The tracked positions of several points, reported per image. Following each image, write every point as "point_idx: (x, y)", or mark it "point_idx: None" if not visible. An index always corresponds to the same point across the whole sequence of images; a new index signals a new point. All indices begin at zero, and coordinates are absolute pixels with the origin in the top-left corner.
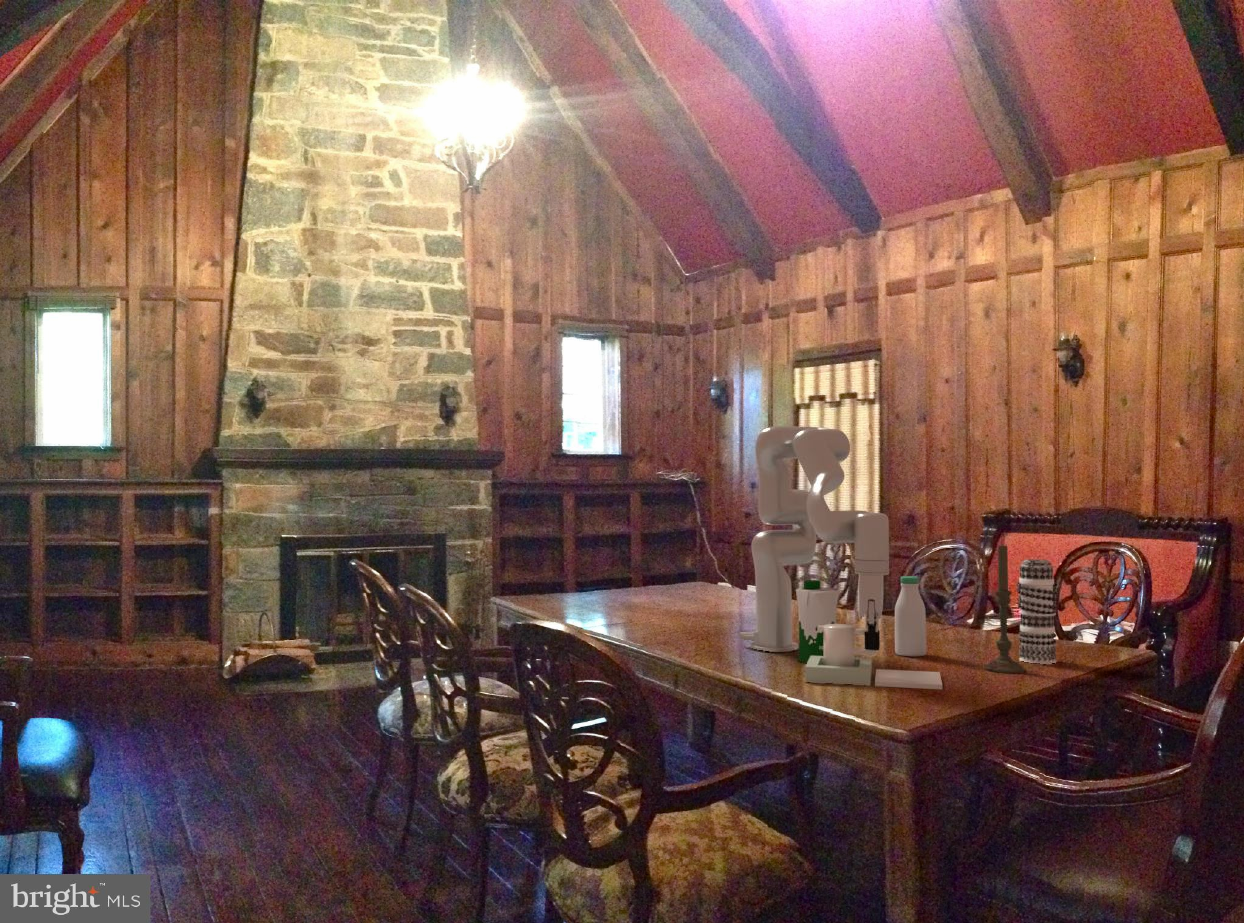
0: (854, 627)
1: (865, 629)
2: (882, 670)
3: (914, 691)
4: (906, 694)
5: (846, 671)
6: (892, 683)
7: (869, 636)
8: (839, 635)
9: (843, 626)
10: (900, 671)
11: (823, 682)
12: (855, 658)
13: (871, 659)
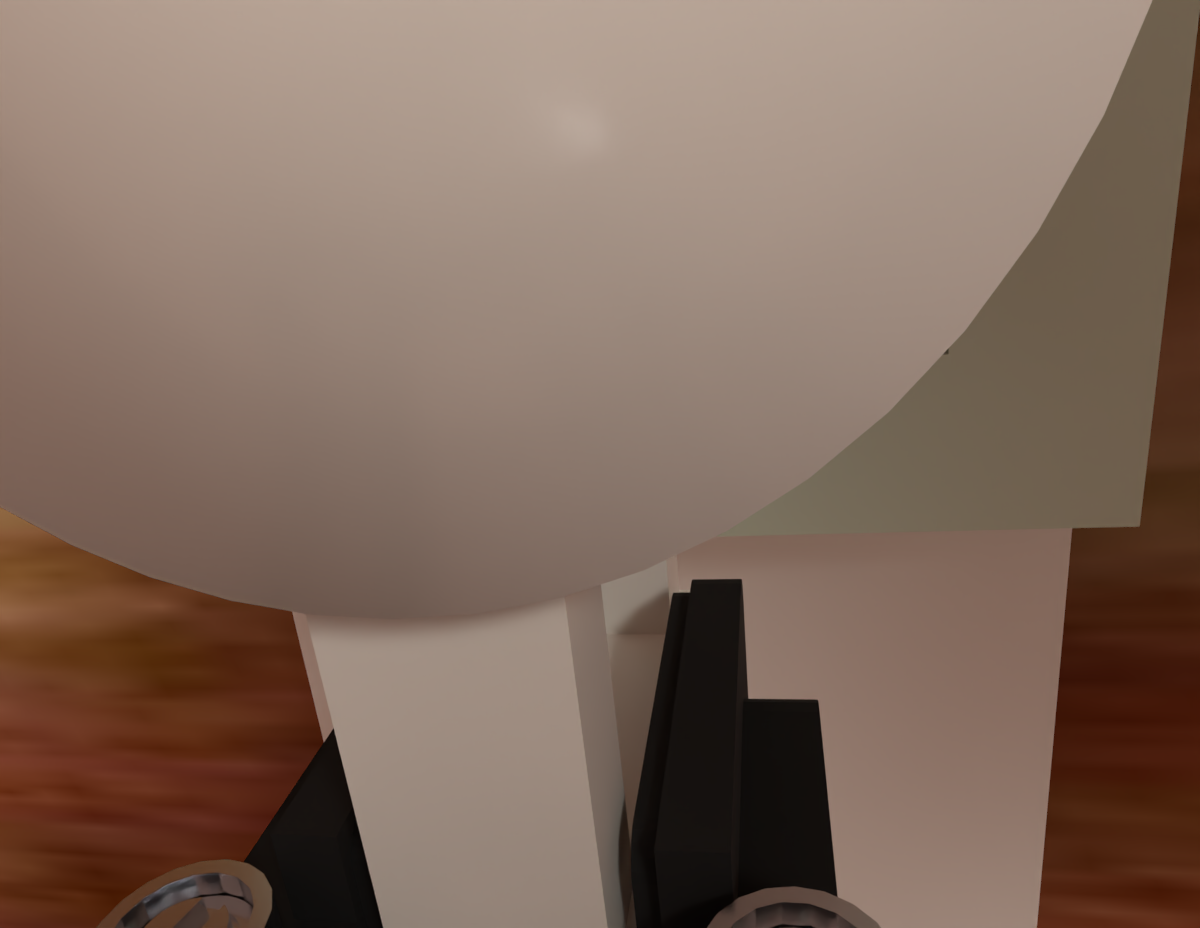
0: (296, 607)
1: (568, 884)
2: (986, 595)
3: (242, 837)
4: (95, 776)
5: None
6: (318, 695)
7: (267, 857)
8: None
9: (308, 96)
10: (964, 786)
11: None
12: (1055, 258)
13: (1003, 529)
